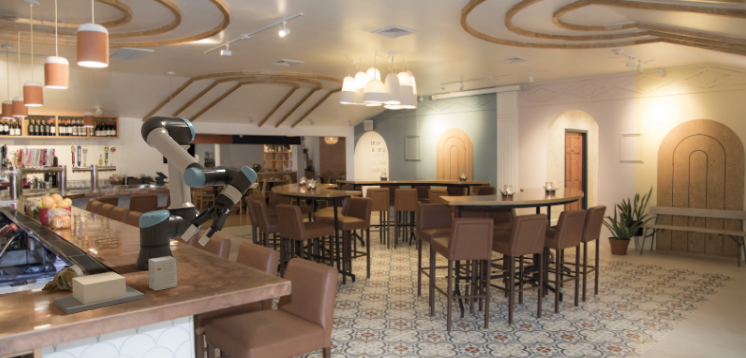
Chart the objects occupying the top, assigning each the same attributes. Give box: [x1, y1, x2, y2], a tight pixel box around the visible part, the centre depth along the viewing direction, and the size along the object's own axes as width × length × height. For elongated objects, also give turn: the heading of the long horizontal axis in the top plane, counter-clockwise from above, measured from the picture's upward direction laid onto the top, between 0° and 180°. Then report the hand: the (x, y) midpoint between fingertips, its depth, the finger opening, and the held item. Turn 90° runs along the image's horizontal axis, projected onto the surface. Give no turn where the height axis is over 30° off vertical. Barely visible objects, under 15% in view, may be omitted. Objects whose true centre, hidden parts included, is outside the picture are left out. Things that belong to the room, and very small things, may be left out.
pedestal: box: [52, 271, 145, 315], centre depth 154 cm, size 16×22×8 cm
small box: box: [148, 256, 178, 291], centre depth 170 cm, size 8×6×10 cm
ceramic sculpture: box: [40, 264, 85, 292], centre depth 168 cm, size 11×9×15 cm
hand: (191, 241), depth 178 cm, fingers open, 13 cm apart
